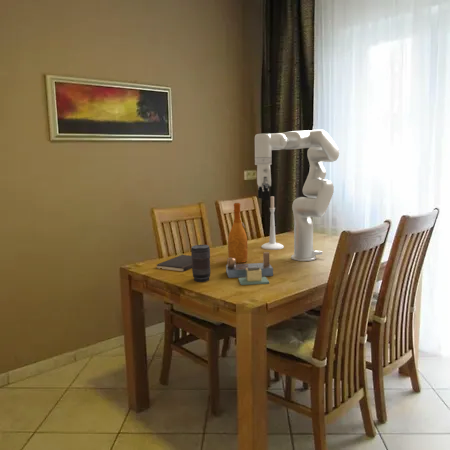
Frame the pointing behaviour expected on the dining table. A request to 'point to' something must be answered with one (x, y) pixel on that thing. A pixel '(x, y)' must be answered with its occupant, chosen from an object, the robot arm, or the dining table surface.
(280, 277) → the dining table surface
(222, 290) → the dining table surface
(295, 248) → the robot arm
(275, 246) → the candlestick
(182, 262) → the hardcover book
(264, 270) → the hand plane
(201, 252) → the camera lens
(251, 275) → the lever cap
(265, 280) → the rubber mat
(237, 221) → the wine bottle
